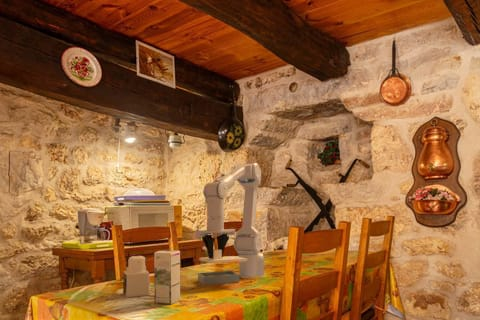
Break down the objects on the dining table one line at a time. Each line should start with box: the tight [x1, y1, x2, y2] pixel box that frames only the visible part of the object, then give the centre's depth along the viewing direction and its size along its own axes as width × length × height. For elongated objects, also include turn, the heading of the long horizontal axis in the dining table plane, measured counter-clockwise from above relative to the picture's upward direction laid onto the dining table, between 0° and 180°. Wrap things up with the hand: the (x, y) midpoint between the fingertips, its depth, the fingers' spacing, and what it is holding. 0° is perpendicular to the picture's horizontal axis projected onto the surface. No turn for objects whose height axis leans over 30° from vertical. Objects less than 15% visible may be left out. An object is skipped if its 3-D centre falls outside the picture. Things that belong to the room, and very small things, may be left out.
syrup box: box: [153, 249, 181, 305], centre depth 112 cm, size 6×6×14 cm
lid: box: [198, 248, 248, 264], centre depth 131 cm, size 14×10×4 cm
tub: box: [197, 270, 240, 287], centre depth 137 cm, size 13×9×3 cm
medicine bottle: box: [122, 254, 150, 299], centre depth 122 cm, size 7×7×12 cm
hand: (215, 257), depth 129 cm, fingers closed on lid, 3 cm apart
